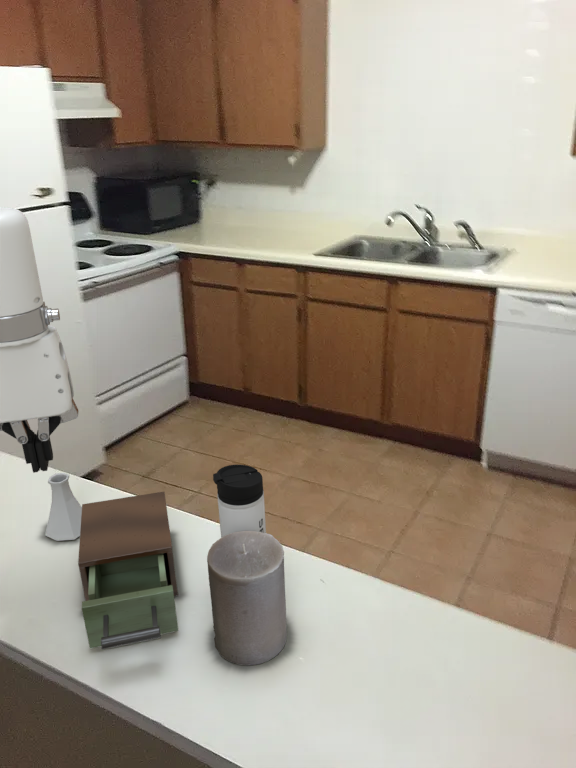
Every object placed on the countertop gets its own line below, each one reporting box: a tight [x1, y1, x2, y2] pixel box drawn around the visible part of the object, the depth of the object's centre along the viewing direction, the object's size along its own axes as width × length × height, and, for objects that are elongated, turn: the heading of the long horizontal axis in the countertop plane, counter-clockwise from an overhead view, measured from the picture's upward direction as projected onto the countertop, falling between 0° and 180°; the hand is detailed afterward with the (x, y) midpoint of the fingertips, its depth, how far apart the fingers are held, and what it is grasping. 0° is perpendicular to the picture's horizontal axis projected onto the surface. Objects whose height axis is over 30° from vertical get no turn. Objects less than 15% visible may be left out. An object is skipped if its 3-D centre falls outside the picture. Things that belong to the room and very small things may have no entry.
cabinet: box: [77, 491, 179, 601], centre depth 100 cm, size 15×13×9 cm
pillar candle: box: [206, 531, 288, 666], centre depth 85 cm, size 10×10×15 cm
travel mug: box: [212, 464, 267, 538], centre depth 92 cm, size 6×7×20 cm
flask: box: [44, 472, 82, 542], centre depth 110 cm, size 7×7×10 cm
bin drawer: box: [81, 553, 179, 650], centre depth 90 cm, size 19×11×7 cm, turn 14°
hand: (41, 465), depth 81 cm, fingers closed
